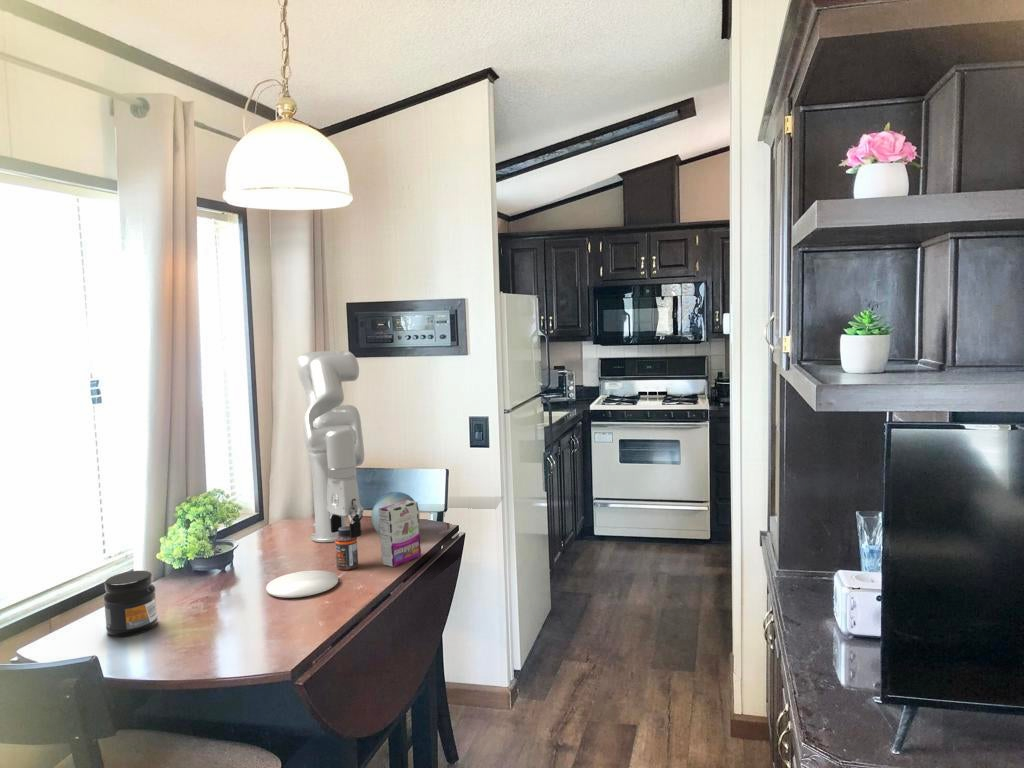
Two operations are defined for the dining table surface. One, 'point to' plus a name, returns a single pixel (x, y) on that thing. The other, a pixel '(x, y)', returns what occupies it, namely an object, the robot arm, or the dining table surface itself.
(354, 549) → the supplement bottle
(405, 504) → the candy bar box
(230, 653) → the dining table surface
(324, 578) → the dish
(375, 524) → the decorative ball
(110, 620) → the supplement container
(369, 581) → the dining table surface
